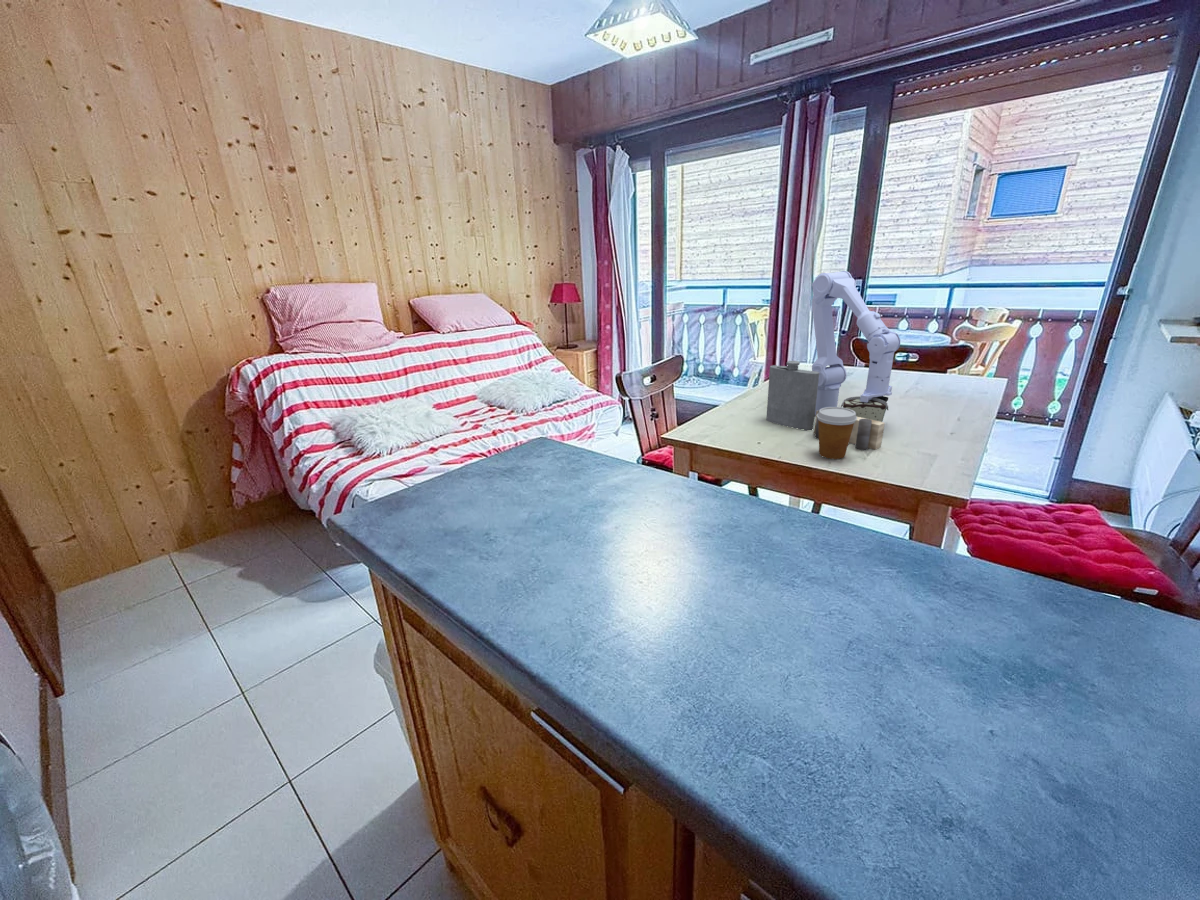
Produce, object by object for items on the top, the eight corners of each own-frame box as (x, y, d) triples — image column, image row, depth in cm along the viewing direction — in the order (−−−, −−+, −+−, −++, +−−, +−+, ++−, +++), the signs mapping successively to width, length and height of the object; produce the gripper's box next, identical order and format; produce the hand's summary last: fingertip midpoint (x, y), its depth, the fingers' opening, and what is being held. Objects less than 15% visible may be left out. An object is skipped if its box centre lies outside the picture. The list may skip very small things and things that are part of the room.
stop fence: (808, 436, 147) (810, 410, 144) (819, 431, 150) (822, 405, 147) (869, 452, 133) (874, 424, 130) (880, 446, 136) (885, 419, 133)
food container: (879, 428, 149) (885, 396, 144) (883, 436, 143) (889, 403, 139) (834, 426, 152) (838, 395, 148) (836, 434, 147) (841, 402, 143)
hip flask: (815, 428, 152) (822, 363, 145) (807, 432, 150) (814, 366, 143) (770, 417, 164) (774, 357, 157) (762, 420, 162) (766, 359, 154)
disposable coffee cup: (832, 464, 128) (838, 420, 123) (804, 452, 136) (809, 410, 131) (860, 457, 131) (866, 413, 127) (831, 445, 139) (836, 404, 135)
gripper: (880, 382, 137) (873, 429, 142) (905, 373, 145) (897, 417, 150) (855, 378, 142) (849, 423, 147) (880, 369, 150) (874, 412, 155)
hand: (872, 420), depth 149 cm, fingers closed
